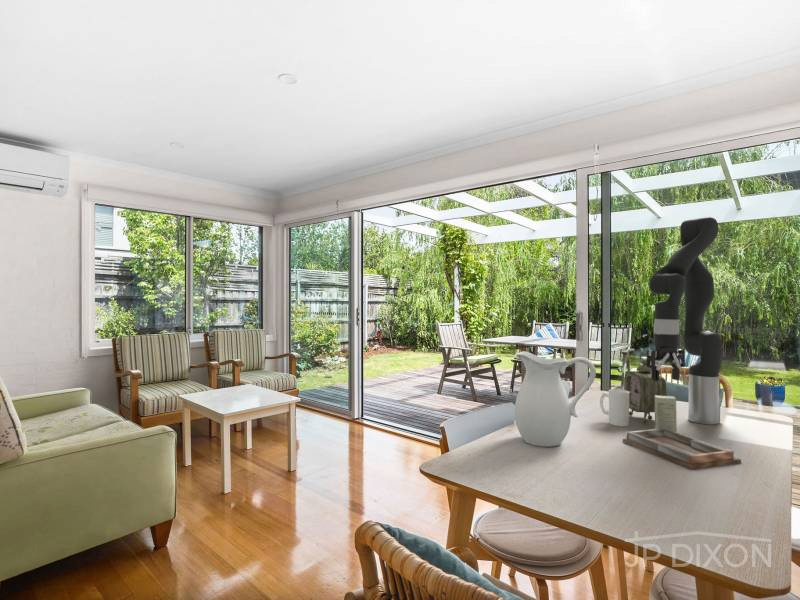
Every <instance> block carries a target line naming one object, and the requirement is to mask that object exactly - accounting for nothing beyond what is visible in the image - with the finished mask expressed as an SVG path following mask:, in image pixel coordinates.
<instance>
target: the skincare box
mask: <svg viewBox="0 0 800 600" xmlns="http://www.w3.org/2000/svg"><path fill="white" fill-rule="evenodd" d="M677 426H678V425H677V398H676V397H675V396H671V395H666V396H657V395H655V412H654V429H661V428H665V429H668V430H671V431H674V432H677V433H678V431H677V430H678V429H677V428H678V427H677Z"/></svg>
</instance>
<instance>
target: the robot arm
mask: <svg viewBox="0 0 800 600" xmlns="http://www.w3.org/2000/svg"><path fill="white" fill-rule="evenodd" d="M719 229H720V227H719V223H718V221H717V219H716V218H715V217H713V216H704V217H703V216H702V217H697V218H690V219H685V220H683V221H682V222H681V223H680V227H679V230H680V231H679V232H680V233H679V235H680V245H681V247H680V248H678V249H677V250H676V251H675V252H674V253H672V255H671V257H669V260H668V261H667V263H666V264H665V265H663V266H662V267H660V269H658V270H657V271H656V272H655V273H653V274H652V275H651V278H650V280H649V283H648V287H649V290H650V291H651V292H652V294H655V295H669V296H668V298H667V299H666V300H662V301H658V302H655V304H654V305H655V306H654V323H653V346H654V347H655V349H654V350H652V349H647V350H646V354H647V356H646V360H645V361H646V367H648V368H651V370H652V380H653V381H659V376H660V368H661V367H662V366H663V365H664V364H667V363H668V364H670V366H671V367H672V368H671V379H672V380H674V381H679V380H680V377H681V376H680V373H681V369H682V368H684V367H686V353H685V352H687V354H689V355H690V356H691V355H692V356H697V357H700V361H699V362H698V363H697V364H693V365H690V366H689V368H688V410H687V411H688V414H687V415H688V417H687V419H688V421H690V422H693V423H697V424H701V425H718V424H719V423H721V396H720V395H719V394H720V393H719V392H720V391H719V390H720V385H719V383H720V382H719V379H720V370H721V368H722V359H723V340H722V337H721V336H720V335H719V334H718V333H716V332H712V331H711V332H710V331H703V319H704V316H705V314H706V311H707V310H708V309H709V307H710V305H711V304H712V301H713V299H714V297H715V285H714V283H715V282H714V280H715V279H714V277H713V274H712V273H711V271H710V270H709V269H708V268H707V266H706V265H705V264H704V263H703V262H702V260H701V259H700V255H701V254H702V253H703V252H704V251H706V249H707V248H708V247H709V246H710V245H711V244H712V243H713V242H714V241H715V240H716V238H717V236H718V234H719ZM683 294H684V307H685V308H684V313H685V314H684V315H685V316H684V330H683V331H684V332H683V346H684V349H681V348H679V347H680V321H679V318H680V313H679V311H680V305H681V301H682V298H683Z"/></svg>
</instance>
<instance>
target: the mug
mask: <svg viewBox="0 0 800 600" xmlns="http://www.w3.org/2000/svg"><path fill="white" fill-rule="evenodd" d="M629 393H630V392H629V391H626V390H624V389H618V388H616V389H615V388H614V389H613V388H611V389H608V392H606V391H602V394H601V396H600V399H599V405H600V408H601V411H602V414H603V415H606V416H608V418H609V419H608V421H609V422H608V423H609V424H610V425H611V426H615V427H628V426H629V423H630V422H629V421H630V419H629V417H630V415H629V411H630V408H629ZM606 397H607V398H608V410H607V409H606V407H605V406H604V399H605V398H606Z"/></svg>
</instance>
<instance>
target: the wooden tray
mask: <svg viewBox="0 0 800 600" xmlns="http://www.w3.org/2000/svg"><path fill="white" fill-rule="evenodd" d="M622 443H625V444H628V445H630V446H633V447H635V448H637V449H639V450H642V451H645V452H647V453H650V454H652V455H655V456H657V457H659V458H661V459H665V460H667V461H670V462H672V463H674V464H676V465H679V466H682V467H683V468H684V467H685V468H687V469H689V470H698V469H705V468H712V467H719V466H727V465H735V464H741V463H742V459H741V458H739V457H737V456H734V451H733V450H732V449H728V448H724V447H722V446H719V445H715V444H712V443H709V442H706V441H703V440H700V439H698V438H694V437H691V436H689V435H685V434H683V433H680V432H678V431H677V432H674V431H671V430H668V429H665V428H661V429H655V428H653V429H642V430H641V429H640V430H634V431H633V430H632V431H626V438H622Z"/></svg>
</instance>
